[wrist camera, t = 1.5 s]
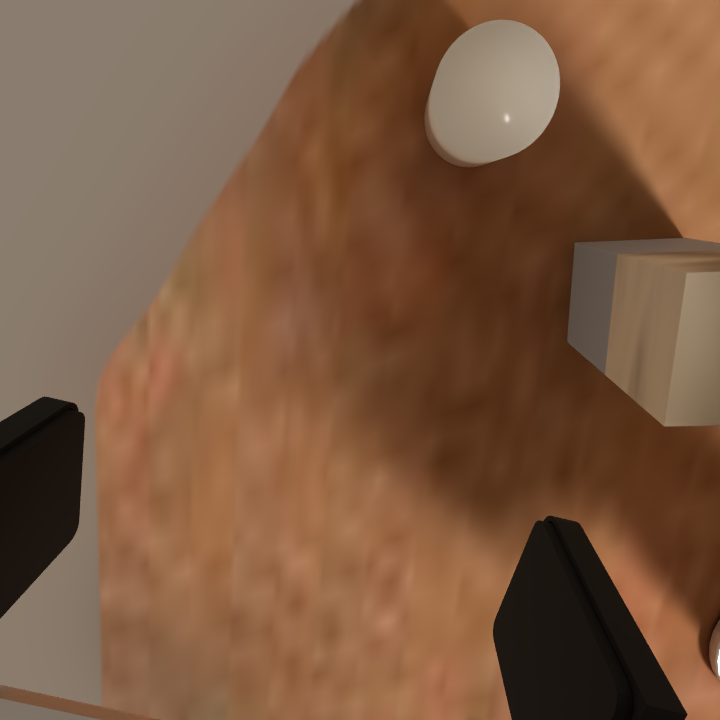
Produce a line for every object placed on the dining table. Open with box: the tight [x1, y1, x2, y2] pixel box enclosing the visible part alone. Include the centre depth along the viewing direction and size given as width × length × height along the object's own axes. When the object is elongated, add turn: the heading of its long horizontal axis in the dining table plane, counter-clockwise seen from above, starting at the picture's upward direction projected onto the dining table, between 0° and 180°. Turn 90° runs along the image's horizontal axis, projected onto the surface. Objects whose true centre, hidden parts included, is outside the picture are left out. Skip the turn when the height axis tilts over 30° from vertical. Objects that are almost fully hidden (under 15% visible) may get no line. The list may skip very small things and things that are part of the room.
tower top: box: [605, 250, 720, 426], centre depth 22 cm, size 6×6×6 cm
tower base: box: [567, 238, 720, 375], centre depth 27 cm, size 6×6×6 cm
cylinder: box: [424, 20, 560, 167], centre depth 24 cm, size 5×5×7 cm
